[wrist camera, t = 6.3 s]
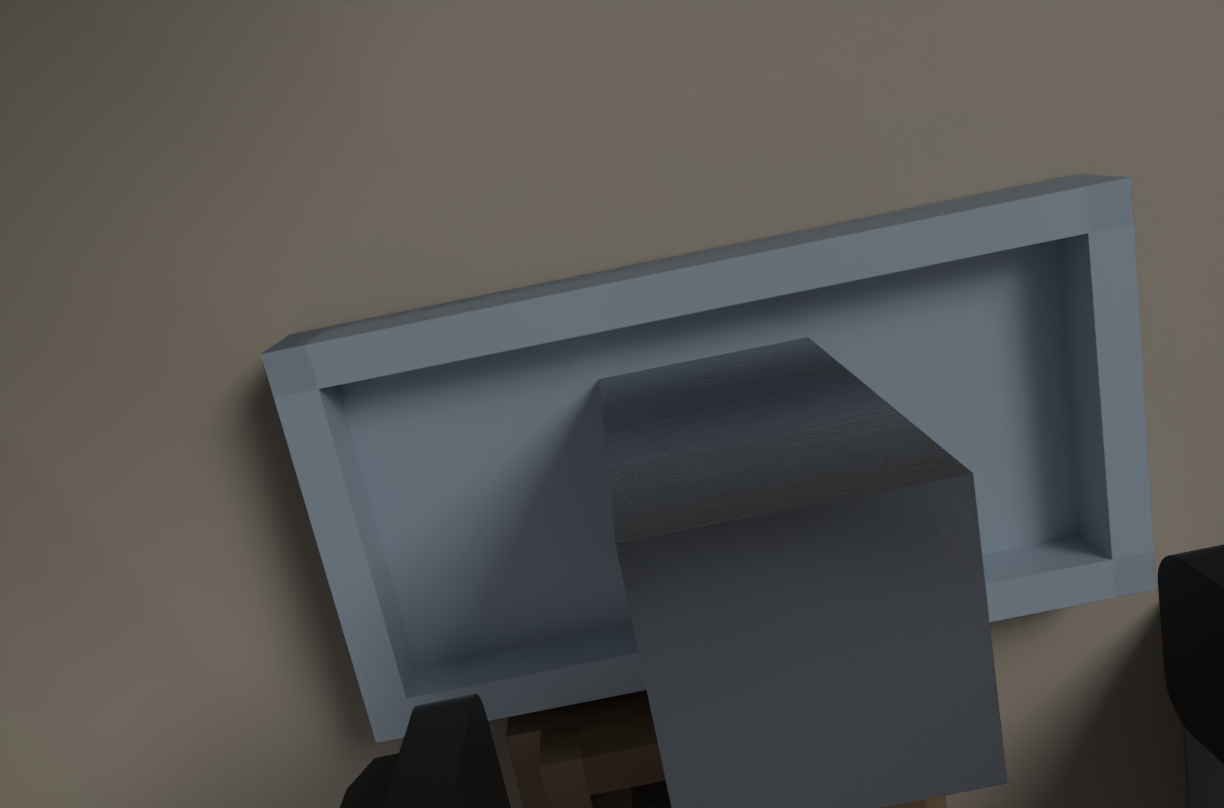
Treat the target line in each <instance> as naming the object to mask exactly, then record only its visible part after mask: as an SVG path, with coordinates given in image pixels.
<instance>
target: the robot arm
mask: <svg viewBox="0 0 1224 808" xmlns="http://www.w3.org/2000/svg"><path fill="white" fill-rule="evenodd" d="M1158 590H1159V603H1160V616H1161V629H1162V642H1163V655H1164V668H1165V679H1166V685H1167V690H1168V693H1169V696H1170V699H1171V702H1172V704H1173V707H1174V709H1175V711H1176V713H1177V715H1178V717H1179V718H1180V720H1181V722H1182V723H1183V725H1184V726H1185V727H1186V729H1187V730H1188V731H1189V732H1190V733H1191V734H1192V735H1193V736H1194V737H1195V738H1196V739H1197V740H1198V741H1199V742H1200V743H1201V744H1202V745H1203V746H1204V747H1205V748H1206V749H1208V750H1209V751H1210V752H1211V753H1212V754H1213V755H1214V756H1215V757H1216V758H1217V759H1218V760H1219V761H1221V762H1222V763H1223V764H1224V545H1219V546H1214V547H1209V548H1204V549H1199V550H1194V551H1189V552H1184V553H1179V554H1175V555H1170V556H1167V557H1165V558H1164V559H1163V560H1162V561H1161V563H1160V565H1159V569H1158ZM340 808H510V803H509V800H508V796H507V792H506V788H505V784H504V780H503V777H502V773H501V769H500V765H499V761H498V757H497V753H496V750H495V746H494V742H493V738H492V734H491V730H490V727H489V723H488V719H487V715H486V712H485V708H484V705H483V703H482V700H481V698H480V697H479V695H478V694H472V695H467V696H462V697H457V698H453V699H448V700H443V701H438V702H433V703H428V704H423V705H418V706H415V707H414V708H413V710H412V713H411V716H410V719H409V723H408V726H407V729H406V733H405V736H404V739H403V743H402V746H401V749H400V752H399V753H398V754H393V755H388V756H383V757H378V758H374V760H373V761H372V762H371V763H370V764H369V765H368V766H367V767H366V768H365V770H364V771H363V772H362V773H361V774H360V775H359V776H358V777H357V779H356V780H355V781H354V782H353V783H352V784H351V785H350V786H349V787H348V789H347V790H346V793H345V795H344V798H343V801H342V803H341V806H340Z"/></svg>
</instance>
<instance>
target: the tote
mask: <svg viewBox="0 0 1224 808" xmlns="http://www.w3.org/2000/svg"><path fill="white" fill-rule="evenodd" d="M805 337H809V338H810V339H811V340H812V341H813V342H815V343H816V344H817V345H818V346H820V347H821V348H822V349H823V350H824V351H826V352H827V353H828V354H829V355H830V356H832V357H833V358H834V359H835V360H836V361H838V362H839V363H840V364H841V365H843V366H844V367H845V368H846V369H847V370H849V371H850V372H851V373H852V374H853V375H855V376H856V377H857V378H858V379H860V380H861V381H862V382H863V383H864V384H866V385H867V386H868V387H869V388H870V389H872V390H873V391H874V392H875V393H876V394H878V395H879V396H880V397H881V398H883V399H884V400H885V401H886V402H887V403H889V404H890V405H891V406H892V407H893V408H895V409H896V410H897V411H898V412H900V413H901V414H902V415H903V416H904V417H906V418H907V419H908V420H909V421H910V422H912V423H913V424H914V425H915V426H916V427H918V428H919V429H920V430H921V431H923V432H924V433H925V434H926V435H927V436H929V437H930V438H931V439H932V440H933V441H935V442H936V443H937V444H938V445H940V446H941V447H942V448H943V449H944V450H946V451H947V452H948V453H949V454H950V455H952V456H953V457H954V458H955V459H957V460H958V461H959V462H960V463H961V464H963V465H964V466H965V467H966V468H967V469H969V470H970V471H971V472H972V473H973V476H974V485H975V495H976V504H977V513H978V522H979V531H980V540H981V549H982V558H983V567H984V576H985V586H986V595H987V604H988V613H989V622H994V621H999V620H1004V619H1009V618H1014V617H1020V616H1025V615H1030V614H1035V613H1040V612H1045V611H1050V610H1055V609H1060V608H1065V607H1070V606H1075V605H1081V604H1086V603H1091V602H1096V601H1101V600H1106V599H1111V598H1116V597H1121V596H1126V595H1131V594H1137V593H1142V592H1147V591H1152V590H1157V588H1156V572H1155V556H1154V539H1153V523H1152V507H1151V490H1150V474H1149V458H1148V441H1147V425H1146V409H1145V392H1144V376H1143V360H1142V344H1141V327H1140V311H1139V295H1138V278H1137V262H1136V246H1135V229H1134V213H1133V197H1132V180H1131V177H1119V176H1102V175H1085V174H1078V175H1073V176H1068V177H1063V178H1058V179H1053V180H1048V181H1044V182H1039V183H1034V184H1029V185H1024V186H1019V187H1014V188H1009V189H1004V190H999V191H994V192H989V193H985V194H980V195H975V196H970V197H965V198H960V199H955V200H950V201H945V202H940V203H935V204H930V205H926V206H921V207H916V208H911V209H906V210H901V211H896V212H891V213H886V214H881V215H876V216H871V217H867V218H862V219H857V220H852V221H847V222H842V223H837V224H832V225H827V226H822V227H817V228H812V229H808V230H803V231H798V232H793V233H788V234H783V235H778V236H773V237H768V238H763V239H758V240H753V241H749V242H744V243H739V244H734V245H729V246H724V247H719V248H714V249H709V250H704V251H699V252H695V253H690V254H685V255H680V256H675V257H670V258H665V259H660V260H655V261H650V262H645V263H640V264H636V265H631V266H626V267H621V268H616V269H611V270H606V271H601V272H596V273H591V274H586V275H581V276H577V277H572V278H567V279H562V280H557V281H552V282H547V283H542V284H537V285H532V286H527V287H522V288H518V289H513V290H508V291H503V292H498V293H493V294H488V295H483V296H478V297H473V298H468V299H463V300H459V301H454V302H449V303H444V304H439V305H434V306H429V307H424V308H419V309H414V310H409V311H404V312H400V313H395V314H390V315H385V316H380V317H375V318H370V319H365V320H360V321H355V322H350V323H346V324H341V325H336V326H331V327H326V328H321V329H316V330H311V331H306V332H301V333H296V334H291V335H289V336H287V337H286V338H284V339H283V340H281V341H280V342H278V343H277V344H275V345H274V346H272V347H271V348H269V349H268V350H266V351H265V352H263V353H262V354H261V356H262V360H263V363H264V367H265V370H266V373H267V377H268V380H269V383H270V387H271V390H272V394H273V397H274V400H275V404H276V407H277V410H278V414H279V417H280V421H281V424H282V427H283V431H284V434H285V437H286V441H287V444H288V448H289V451H290V454H291V458H292V461H293V464H294V468H295V471H296V475H297V478H298V481H299V485H300V488H301V491H302V495H303V498H304V501H305V505H306V508H307V512H308V515H309V518H310V522H311V525H312V528H313V532H314V535H315V539H316V542H317V545H318V549H319V552H320V555H321V559H322V562H323V566H324V569H325V572H326V576H327V579H328V582H329V586H330V589H331V593H332V596H333V599H334V603H335V606H336V609H337V613H338V616H339V620H340V623H341V626H342V630H343V633H344V636H345V640H346V643H347V647H348V650H349V653H350V657H351V660H352V663H353V667H354V670H355V673H356V677H357V680H358V684H359V687H360V690H361V694H362V697H363V700H364V704H365V707H366V711H367V714H368V717H369V721H370V724H371V727H372V731H373V734H374V738H375V741H376V743H379V742H384V741H389V740H394V739H399V738H404V736H405V733H406V729H407V726H408V723H409V719H410V716H411V713H412V710H413V708H414V707H415V706H418V705H423V704H428V703H433V702H438V701H443V700H448V699H453V698H457V697H462V696H467V695H472V694H478V695H479V697H480V698H481V700H482V703H483V705H484V708H485V712H486V715H487V719H488V721H491V720H496V719H501V718H506V717H511V716H516V715H521V714H526V713H531V712H536V711H542V710H547V709H552V708H557V707H562V706H567V705H572V704H577V703H582V702H587V701H592V700H597V699H603V698H608V697H613V696H618V695H623V694H628V693H633V692H638V691H643V690H646V685H645V680H644V676H643V671H642V666H641V662H640V657H639V652H638V647H637V643H636V638H635V633H634V629H633V624H632V619H631V615H630V610H629V605H628V600H627V596H626V591H625V586H624V582H623V577H622V572H621V567H620V563H619V558H618V553H617V549H616V543H615V533H614V524H613V514H612V504H611V494H610V484H609V474H608V464H607V454H606V444H605V434H604V424H603V414H602V404H601V394H600V384H599V379H602V378H607V377H612V376H617V375H622V374H627V373H632V372H637V371H642V370H647V369H652V368H657V367H661V366H666V365H671V364H676V363H681V362H686V361H691V360H696V359H701V358H706V357H711V356H716V355H721V354H726V353H731V352H736V351H741V350H746V349H751V348H756V347H761V346H766V345H771V344H775V343H780V342H785V341H790V340H795V339H800V338H805Z"/></svg>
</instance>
